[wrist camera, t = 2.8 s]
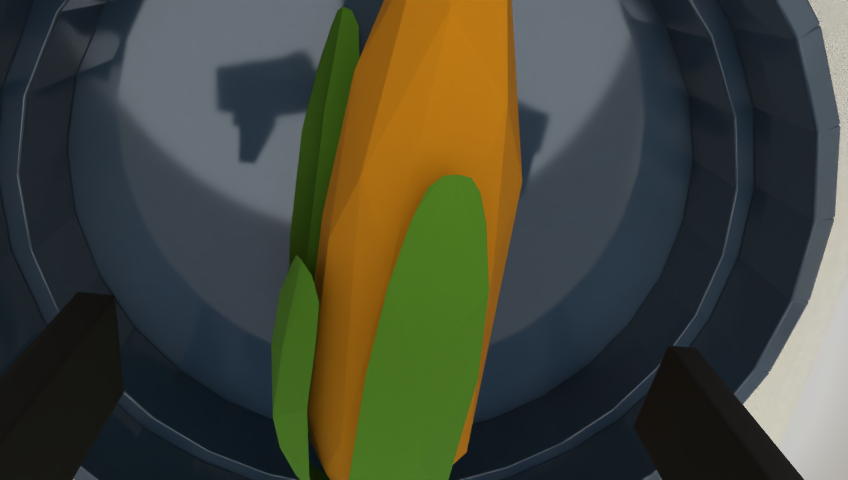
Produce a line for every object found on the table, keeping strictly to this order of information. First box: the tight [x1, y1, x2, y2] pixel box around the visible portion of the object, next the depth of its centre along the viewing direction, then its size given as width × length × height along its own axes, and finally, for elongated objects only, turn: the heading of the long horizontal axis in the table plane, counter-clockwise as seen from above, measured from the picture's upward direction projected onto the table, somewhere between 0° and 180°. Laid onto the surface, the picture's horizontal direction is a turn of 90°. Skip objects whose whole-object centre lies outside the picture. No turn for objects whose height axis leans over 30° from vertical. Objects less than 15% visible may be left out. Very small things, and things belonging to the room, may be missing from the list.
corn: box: [271, 0, 522, 480], centre depth 17 cm, size 7×8×20 cm
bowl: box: [0, 0, 840, 480], centre depth 18 cm, size 24×24×6 cm
